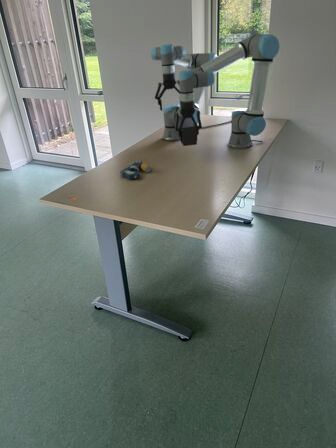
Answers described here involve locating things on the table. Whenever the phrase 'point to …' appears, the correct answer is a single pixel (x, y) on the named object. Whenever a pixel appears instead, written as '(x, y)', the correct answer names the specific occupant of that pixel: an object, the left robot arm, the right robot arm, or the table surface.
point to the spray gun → (135, 167)
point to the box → (187, 132)
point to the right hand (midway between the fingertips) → (189, 141)
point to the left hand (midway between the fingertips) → (171, 108)
